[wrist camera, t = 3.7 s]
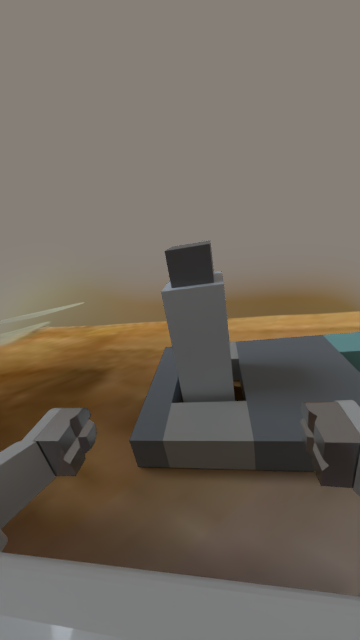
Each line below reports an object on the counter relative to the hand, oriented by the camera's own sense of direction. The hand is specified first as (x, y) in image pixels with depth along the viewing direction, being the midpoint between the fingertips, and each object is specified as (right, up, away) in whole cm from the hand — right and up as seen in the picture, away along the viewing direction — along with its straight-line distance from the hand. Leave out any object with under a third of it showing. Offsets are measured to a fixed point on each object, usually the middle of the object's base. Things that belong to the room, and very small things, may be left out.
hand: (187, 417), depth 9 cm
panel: (+9, -3, +10) cm, 14 cm away
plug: (+3, -4, +11) cm, 12 cm away
